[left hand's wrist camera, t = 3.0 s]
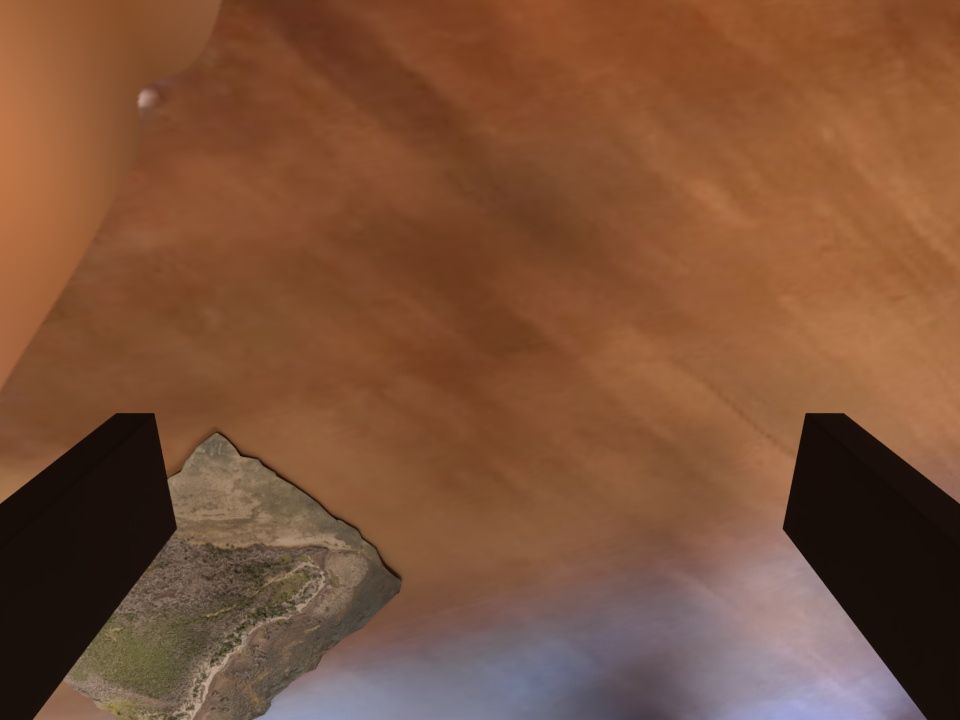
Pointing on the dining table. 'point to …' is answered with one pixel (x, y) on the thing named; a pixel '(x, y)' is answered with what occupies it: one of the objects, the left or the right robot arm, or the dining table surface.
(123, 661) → the slab
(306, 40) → the dining table surface
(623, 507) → the dining table surface
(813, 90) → the dining table surface
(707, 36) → the dining table surface
